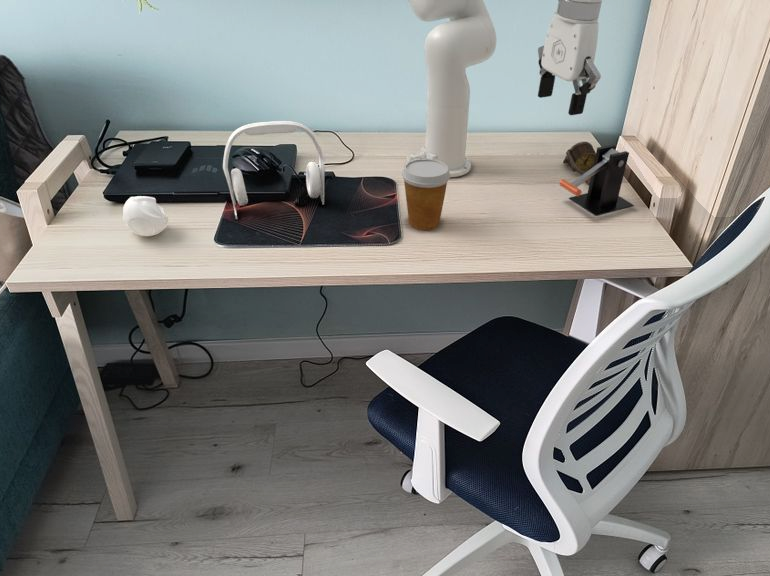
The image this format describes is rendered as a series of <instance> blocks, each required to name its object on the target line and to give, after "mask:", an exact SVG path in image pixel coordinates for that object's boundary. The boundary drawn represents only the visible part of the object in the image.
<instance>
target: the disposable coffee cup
mask: <svg viewBox="0 0 770 576" xmlns="http://www.w3.org/2000/svg"><path fill="white" fill-rule="evenodd" d="M401 177H402V179H403V182H404V183H403V184H404V191H405V201H406V210H407V215H408V216H407V217H408V218H407V219H408V224H409V226H410V227H411V228H413V229H415V230H420V231H430V230H434V229H436V228H438V227H439V226H440V221H441V217H442V212H443V206H444V202H445V195H446V192H447V191H446V190H447V187H448V182H449V180H450V178H451V177H450V172H449V170H448V166H447V165H446V164H445V163H443V162H441V161H438V160H434V159H415V160H411V161H409V162H407V161H406V163H405V164H404V166H403V169H402V171H401Z"/></svg>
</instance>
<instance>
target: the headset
mask: <svg viewBox="0 0 770 576" xmlns="http://www.w3.org/2000/svg"><path fill="white" fill-rule="evenodd" d="M298 129H299V130H301V131H302V132H304V133H306V134H307V135H308V136H309V138H310V139H311V140H312V142H313V144H314V146H315V149H316V151H317V154H318V164H317V163H316V162H315V161H310V162H308V163H307V165H306V169H305V182H306V183H305V184H306V190H307V193H308V196H309V198H311V199H317V198H319V197H320V200H321V203H322V205H325V157H324V154H323V151H322V147H321V145H320V143H319V141H318V139H317V137H316V135H315V134H314V133H313V131H312V130H311V128H309V127H307V126H306V125H304V123H303V124H302V123H300V122H296V121H291V120H289V121H288V120H274V121H260V122H253V123H248V124H245V125H242V126H240V127H238V128H236V129H235V130H234V131H233V132H232V133H231V134H230V136H229V138H228V140H227V142H226V144H225V147H224V152H223V153H224V154H223V159H222V170H223V173H224V176H225V178H226V183H227V186H228V190H229V193H230V197H231V201H232V205H233V210H234V216H235V219H236V220H238V213H237V212H238V211H237V207H236V206H237V204H238V205H239V206H243V207H244V206H247V204H248V203H249V199H248V195H247V194H248V193H247V189H246V185H245V181H244V177H243V172H242V170H241V169H239V168H232V169H231V171H230V172H229V168H228V167H229V159H230V158H229V157H230V153H231V150H232V149H231V148H232V146H233V144H234V142H235V141H236V139H237V138H238V137H239V136H240V135H242V134H243V133H244V134H246V135H248V136H262V135H263V136H264V135H274V134H293V133H295V132H297V130H298ZM236 201H237V203H236Z"/></svg>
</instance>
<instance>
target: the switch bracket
mask: <svg viewBox="0 0 770 576" xmlns="http://www.w3.org/2000/svg"><path fill="white" fill-rule="evenodd" d="M612 148H613V149H615V150H616V148H617V146H616V144H613V143H611V144H607V145H602V146H598V147H596V151H595V152H596V156H595V161H594V165H593V167H594V166H596V165H597V164H598V163H600V162H601V161H602V160H603V159H602V155H604V154H605V153H606V152H608V151H609V150H611V149H612ZM629 155H630V152H628V151H627V150H624V151H621V152H620V151H619V153H615V154H611V155H610V158H609V162H608V167H607V166H606V167H604V168H603V169H602V170H600V171H599V172H597V173H596V174H595V175H593V176H592V177H591V179H590V184H589V185H588V189H587V192H586V193H581V194H580V196H576V195H574V196H570V197H568V200H570V201H572V202H573V203H574V204H576V205H578V206H579V207H581V208H583V209H584V210H585V211H587V212H588V213H590V214H592V215H593V216H595V217H599V216H602V215H605V214H609V213H612V212H617V211H621V210H624V209H628V208H631V207H634V206H635V205H634V204H633V203H632V202H630V201H629V200H626V199H625V198H623V197H622V196H620V192H621V188H622V183H623V179H624V176H625V172H626V168H627V164H628V160H629V157H630V156H629Z"/></svg>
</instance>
